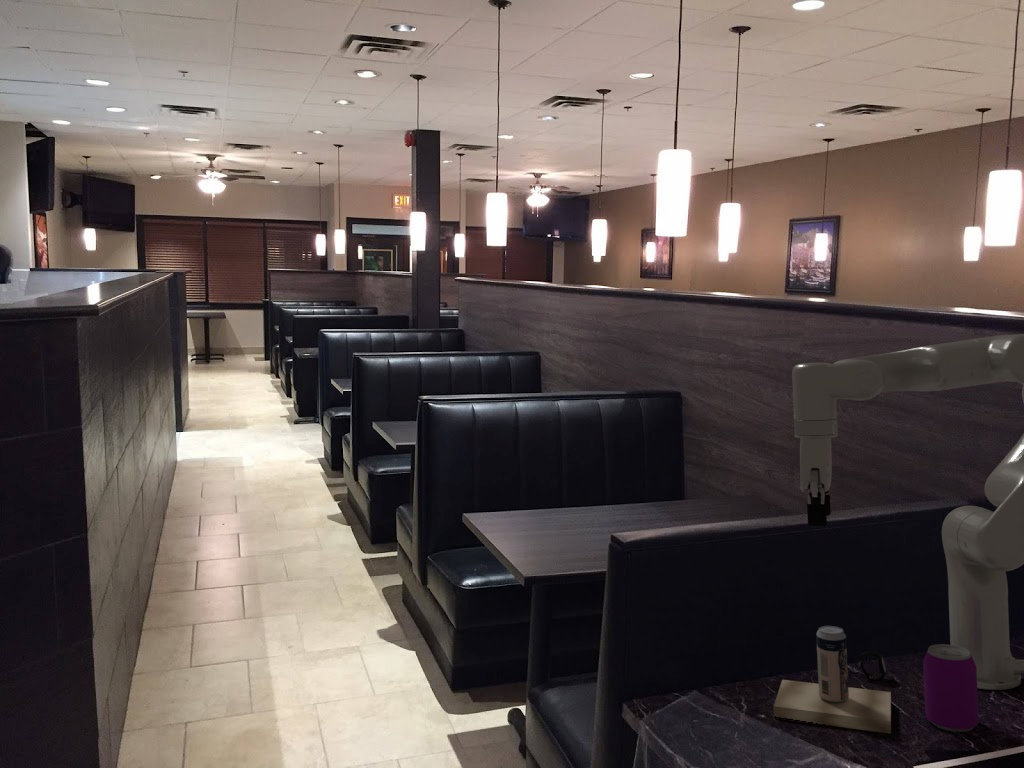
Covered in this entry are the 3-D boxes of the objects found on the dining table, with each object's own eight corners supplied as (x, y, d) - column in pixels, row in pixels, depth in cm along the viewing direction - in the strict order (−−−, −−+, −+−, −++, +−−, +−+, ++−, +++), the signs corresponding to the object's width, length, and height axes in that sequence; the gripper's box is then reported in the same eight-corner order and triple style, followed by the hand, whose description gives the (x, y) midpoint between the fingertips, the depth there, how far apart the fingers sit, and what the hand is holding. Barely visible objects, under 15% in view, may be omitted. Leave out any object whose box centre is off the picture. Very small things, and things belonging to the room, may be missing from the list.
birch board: (891, 703, 140) (890, 692, 140) (891, 733, 129) (890, 721, 129) (782, 690, 148) (782, 679, 148) (774, 717, 137) (773, 706, 137)
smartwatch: (881, 684, 148) (880, 658, 148) (854, 677, 152) (853, 651, 152) (892, 678, 150) (891, 652, 150) (866, 671, 154) (864, 645, 154)
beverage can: (928, 731, 129) (925, 657, 129) (923, 711, 136) (920, 641, 136) (982, 737, 126) (980, 661, 126) (974, 716, 134) (972, 644, 133)
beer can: (851, 704, 136) (848, 634, 135) (821, 704, 137) (818, 634, 136) (845, 693, 140) (842, 625, 140) (816, 692, 141) (813, 624, 141)
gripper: (799, 425, 159) (803, 510, 160) (789, 433, 143) (793, 529, 144) (840, 424, 156) (843, 512, 156) (834, 433, 140) (838, 530, 141)
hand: (819, 520), depth 150 cm, fingers open, 9 cm apart
